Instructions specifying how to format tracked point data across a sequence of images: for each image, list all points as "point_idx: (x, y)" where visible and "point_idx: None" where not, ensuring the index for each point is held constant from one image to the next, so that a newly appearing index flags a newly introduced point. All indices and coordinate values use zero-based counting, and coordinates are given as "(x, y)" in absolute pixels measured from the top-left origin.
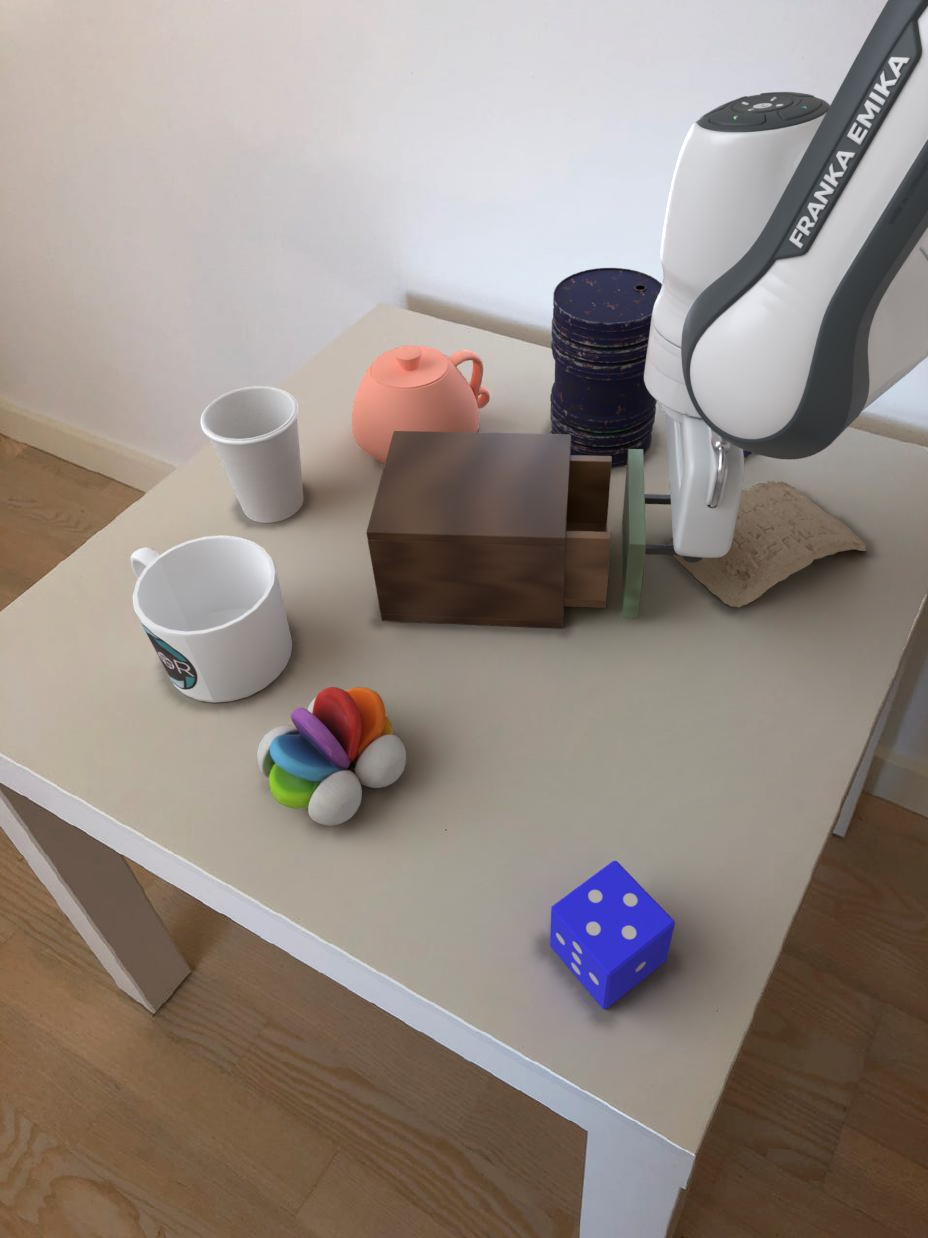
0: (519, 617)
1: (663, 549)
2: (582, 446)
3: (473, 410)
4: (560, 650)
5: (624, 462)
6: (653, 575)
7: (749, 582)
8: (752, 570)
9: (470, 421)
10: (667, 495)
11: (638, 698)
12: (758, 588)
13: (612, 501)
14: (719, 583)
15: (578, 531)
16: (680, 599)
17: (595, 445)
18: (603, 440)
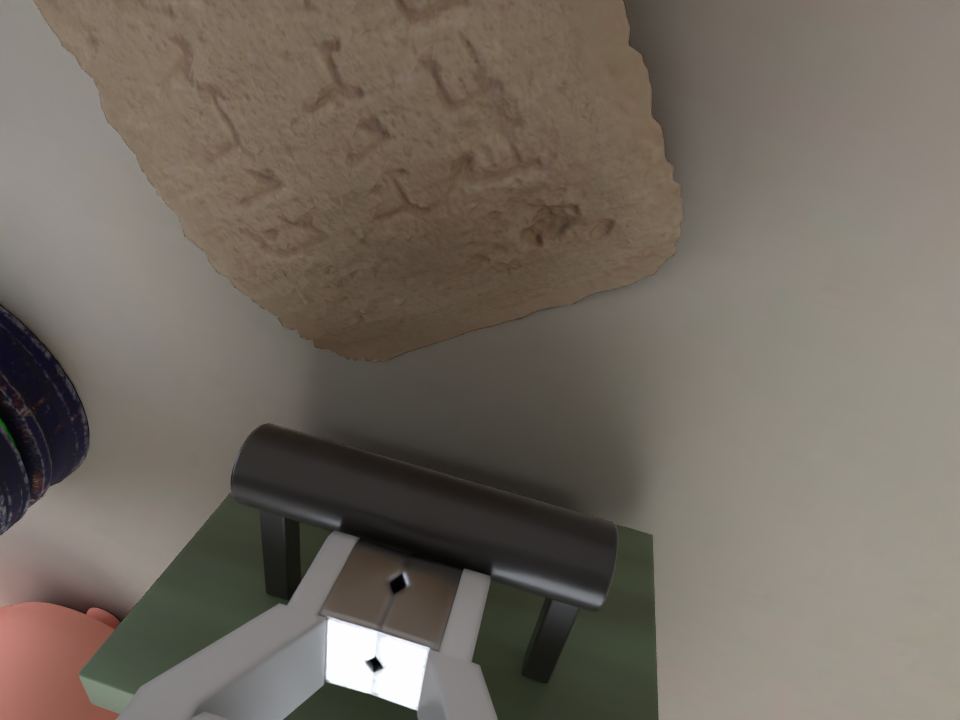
0: None
1: (562, 643)
2: (34, 484)
3: (10, 683)
4: (679, 646)
5: (47, 369)
6: (470, 421)
7: (598, 211)
8: (549, 191)
9: (44, 684)
10: (266, 537)
11: (903, 580)
12: (643, 189)
13: (196, 424)
14: (546, 281)
15: None
16: (576, 388)
17: (24, 477)
18: (3, 476)
